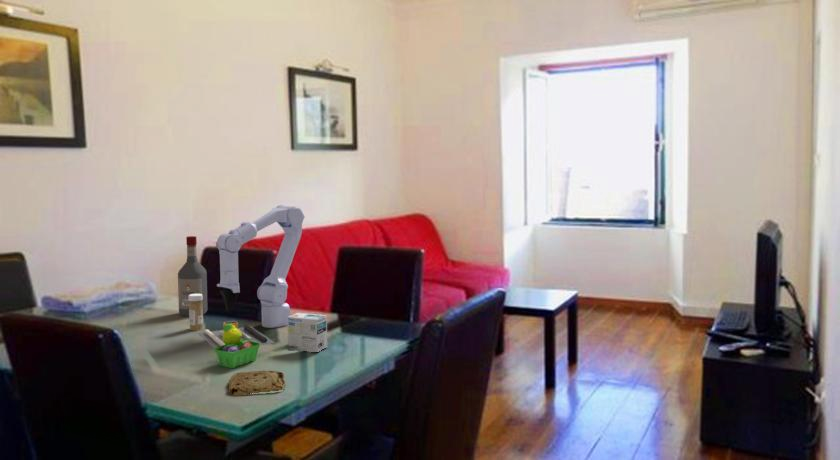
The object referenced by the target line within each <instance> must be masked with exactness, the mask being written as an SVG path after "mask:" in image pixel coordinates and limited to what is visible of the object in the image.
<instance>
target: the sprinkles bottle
mask: <svg viewBox="0 0 840 460" xmlns="http://www.w3.org/2000/svg"><path fill="white" fill-rule="evenodd" d="M188 300H189V316H188V318H189V320H188V321H189V322H188V323H189V331H193V332H195V331H202V330H203V329H204V318H203V317H204V314H203V310H202V300H203V295H202V294H190V295H189V296H188Z"/></svg>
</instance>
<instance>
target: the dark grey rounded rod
mask: <svg viewBox="0 0 840 460" xmlns="http://www.w3.org/2000/svg"><path fill="white" fill-rule="evenodd" d="M243 327H244V328H245V329H246V330H248V331H249V332H251V333H252V334H253V335H255V336H256V337H258V338H259V339H261V340H262V341H263V342H267V340H268V339H267V338H266V337H267V336H266V337H264V336H263V335H264V334H263V335H261V334H260V333H261V332H260V333H258V332H257V331H258V330H257V331H255V330H254V329H255V328H254V329H252V328H251V327H252V326H251V327H249V325H248V324H244V325H243Z"/></svg>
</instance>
